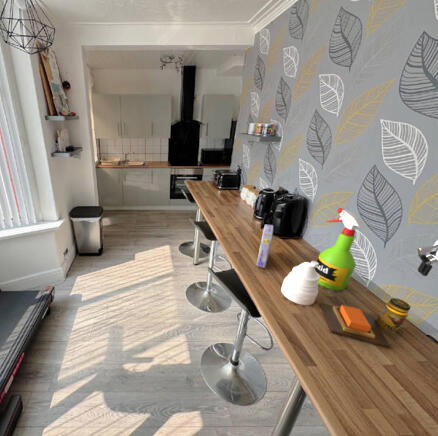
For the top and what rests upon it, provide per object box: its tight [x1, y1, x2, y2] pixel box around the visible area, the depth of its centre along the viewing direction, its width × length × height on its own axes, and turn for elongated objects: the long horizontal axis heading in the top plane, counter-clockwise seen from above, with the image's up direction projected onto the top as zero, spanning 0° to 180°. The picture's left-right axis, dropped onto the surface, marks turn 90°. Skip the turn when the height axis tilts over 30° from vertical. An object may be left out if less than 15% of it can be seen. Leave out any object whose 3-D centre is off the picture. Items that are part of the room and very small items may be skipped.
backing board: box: [319, 302, 391, 349], centre depth 89 cm, size 17×15×2 cm
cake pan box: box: [255, 224, 274, 269], centre depth 126 cm, size 19×5×18 cm, turn 152°
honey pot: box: [280, 260, 320, 306], centre depth 100 cm, size 13×13×18 cm
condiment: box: [375, 297, 411, 333], centre depth 88 cm, size 7×8×12 cm
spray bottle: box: [314, 207, 365, 291], centre depth 108 cm, size 14×18×35 cm
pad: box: [339, 304, 371, 333], centre depth 88 cm, size 6×9×4 cm, turn 159°
